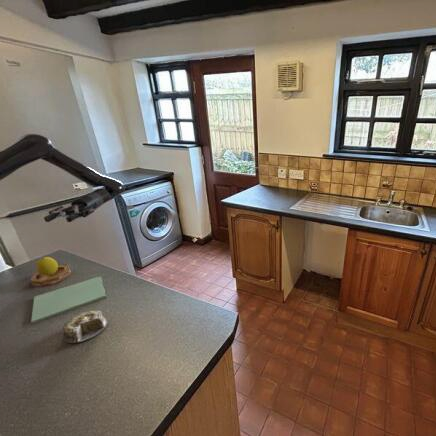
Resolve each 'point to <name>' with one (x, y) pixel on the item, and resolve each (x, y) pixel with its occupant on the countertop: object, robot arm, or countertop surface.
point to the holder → (59, 275)
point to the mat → (67, 299)
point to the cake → (84, 326)
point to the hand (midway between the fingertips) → (56, 220)
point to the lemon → (47, 266)
